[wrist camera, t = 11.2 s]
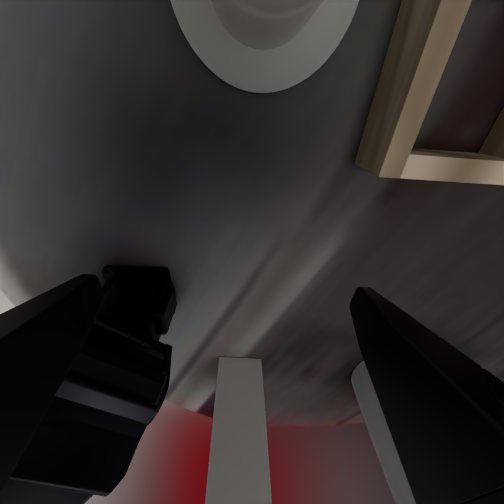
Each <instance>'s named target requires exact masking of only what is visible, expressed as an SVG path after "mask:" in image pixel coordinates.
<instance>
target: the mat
mask: <svg viewBox="0 0 504 504" xmlns="http://www.w3.org/2000/svg"><path fill="white" fill-rule="evenodd" d="M358 3H359V0H324V1H323V2H322V4H321V5H320V6H319V7H318V9H317V10H316V11H315V13H314V14H313V15H312V17H311V18H310V19H309V21H308V22H307V23H306V24H305V26H304V27H303V28H302V30H301V31H300V32H299V33H298V34H297V35H296V36H295V37H294V38H293V39H291V40H290V41H289V42H287V43H286V44H284V45H282V46H280V47H277V48H274V49H269V50H258V49H253V48H250V47H248V46H245V45H243V44H242V43H240V42H239V41H237V40H236V39H235V38H234V37H233V36H232V35H231V34H230V33H229V32H228V31H227V30H226V29H225V27H224V26H223V24H222V23H221V21H220V20H219V18H218V16H217V14H216V12H215V9H214V7H213V4H212V1H211V0H171V4H172V7H173V10H174V13H175V15H176V18H177V20H178V23H179V25H180V27H181V29H182V31H183V33H184V35H185V37H186V39H187V41H188V42H189V44H190V45H191V47H192V48H193V50H194V51H195V53H196V54H197V56H198V57H199V58H200V59H201V60H202V61H203V63H204V64H205V65H206V66H207V67H208V68H209V69H210V70H211V71H212V72H213V73H214V74H215V75H216V76H218V77H219V78H220V79H222V80H223V81H225V82H226V83H228V84H230V85H232V86H234V87H236V88H238V89H241V90H244V91H248V92H254V93H272V92H278V91H281V90H284V89H287V88H290V87H292V86H294V85H296V84H298V83H300V82H302V81H303V80H305V79H306V78H308V77H309V76H311V75H312V74H313V73H314V72H315V71H317V70H318V69H319V68H320V67H321V66H322V65H323V64H324V63H325V62H326V60H327V59H328V58H329V57H330V56H331V54H332V53H333V52H334V50H335V49H336V48H337V46H338V45H339V43H340V41H341V40H342V38H343V36H344V35H345V33H346V31H347V29H348V27H349V25H350V23H351V21H352V18H353V16H354V14H355V11H356V8H357V5H358Z"/></svg>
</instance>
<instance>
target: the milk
mask: <svg viewBox="0 0 504 504" xmlns="http://www.w3.org/2000/svg"><path fill="white" fill-rule="evenodd" d="M205 504H272V499H271V485H270V471H269V458H268V446H267V431H266V417H265V403H264V390H263V376H262V362H261V359H254V358H233V357H219V363H218V373H217V384H216V394H215V405H214V416H213V426H212V437H211V447H210V458H209V469H208V479H207V490H206V501H205Z"/></svg>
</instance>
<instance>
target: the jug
mask: <svg viewBox="0 0 504 504" xmlns="http://www.w3.org/2000/svg"><path fill="white" fill-rule="evenodd" d="M211 1H212V4H213V7H214V9H215V12H216V14H217V16H218V18H219V20H220V21H221V23H222V24H223V26H224V27H225V29H226V30H227V31H228V32H229V33H230V34H231V35H232V36H233V37H234V38H235V39H236V40H237V41H239V42H240V43H242V44H243V45H245V46H248V47H250V48H253V49H258V50H269V49H274V48H277V47H280V46H282V45H284V44H286V43H287V42H289V41H290V40H291V39H293V38H294V37H295V36H296V35H297V34H298V33H299V32H300V31H301V30H302V28H303V27H304V26H305V24H306V23H307V22H308V21H309V19H310V18H311V17H312V15H313V14H314V13H315V11H316V10H317V9H318V7H319V6H320V5H321V4H322V2H323V1H324V0H211Z"/></svg>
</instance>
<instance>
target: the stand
mask: <svg viewBox="0 0 504 504" xmlns="http://www.w3.org/2000/svg"><path fill="white" fill-rule="evenodd" d="M471 2H472V0H402V2H401V5H400V9H399V12H398V16H397V19H396V22H395V26H394V29H393V33H392V36H391V40H390V43H389V46H388V50H387V53H386V57H385V60H384V64H383V67H382V70H381V74H380V77H379V81H378V84H377V88H376V91H375V94H374V98H373V101H372V105H371V108H370V112H369V115H368V118H367V122H366V125H365V129H364V132H363V136H362V139H361V142H360V146H359V149H358V153H357V156H356V160H355V163H354V164H355V165H357V166H359V167H360V168H362V169H364V170H366V171H368V172H370V173H372V174H374V175H376V176H378V177H388V178H403V179H418V180H434V181H449V182H464V183H479V184H495V185H504V107H503V109H502V110H501V112H500V114H499V116H498V118H497V120H496V121H495V123H494V125H493V127H492V129H491V130H490V132H489V134H488V136H487V138H486V139H485V141H484V143H483V145H482V147H481V149H480V150H479V152H478V153H471V152H458V151H445V150H431V149H418V148H412V147H413V145H414V142H415V140H416V137H417V135H418V132H419V130H420V128H421V125H422V123H423V120H424V118H425V115H426V113H427V110H428V108H429V105H430V103H431V100H432V98H433V95H434V93H435V90H436V88H437V86H438V83H439V81H440V78H441V76H442V73H443V71H444V68H445V66H446V63H447V61H448V58H449V56H450V53H451V51H452V49H453V46H454V44H455V41H456V39H457V36H458V34H459V31H460V29H461V26H462V24H463V21H464V19H465V16H466V14H467V11H468V9H469V7H470V4H471Z"/></svg>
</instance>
